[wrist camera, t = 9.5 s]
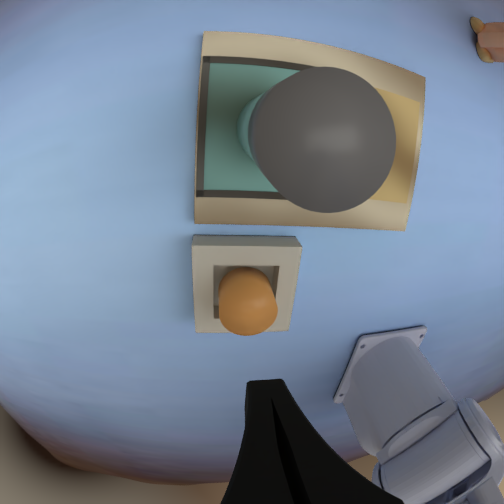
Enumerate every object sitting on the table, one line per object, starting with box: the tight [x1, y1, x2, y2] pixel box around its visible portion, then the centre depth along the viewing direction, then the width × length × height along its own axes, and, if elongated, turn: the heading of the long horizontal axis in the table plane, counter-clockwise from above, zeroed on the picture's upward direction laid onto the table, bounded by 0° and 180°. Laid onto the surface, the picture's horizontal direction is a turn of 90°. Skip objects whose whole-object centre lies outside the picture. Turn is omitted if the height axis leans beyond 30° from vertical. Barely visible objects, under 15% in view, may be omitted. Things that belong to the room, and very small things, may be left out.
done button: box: [218, 267, 278, 336], centre depth 16 cm, size 3×3×2 cm
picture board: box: [194, 31, 425, 231], centre depth 15 cm, size 11×14×1 cm
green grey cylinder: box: [237, 67, 396, 213], centre depth 10 cm, size 4×4×8 cm
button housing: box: [192, 235, 302, 333], centre depth 18 cm, size 6×6×2 cm
